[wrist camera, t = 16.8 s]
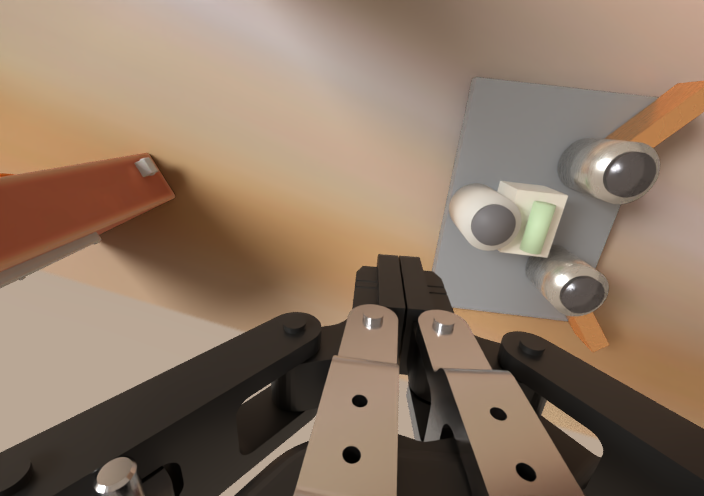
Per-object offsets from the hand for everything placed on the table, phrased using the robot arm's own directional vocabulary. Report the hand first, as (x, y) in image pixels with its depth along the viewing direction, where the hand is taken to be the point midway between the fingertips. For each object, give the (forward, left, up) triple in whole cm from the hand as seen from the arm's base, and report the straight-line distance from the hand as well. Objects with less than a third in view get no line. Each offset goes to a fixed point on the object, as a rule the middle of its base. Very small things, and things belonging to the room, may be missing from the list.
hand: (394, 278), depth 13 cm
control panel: (+6, -29, -26) cm, 39 cm away
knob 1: (+10, +22, -24) cm, 34 cm away
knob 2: (-6, +22, -24) cm, 33 cm away
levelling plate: (+2, +16, -26) cm, 30 cm away
